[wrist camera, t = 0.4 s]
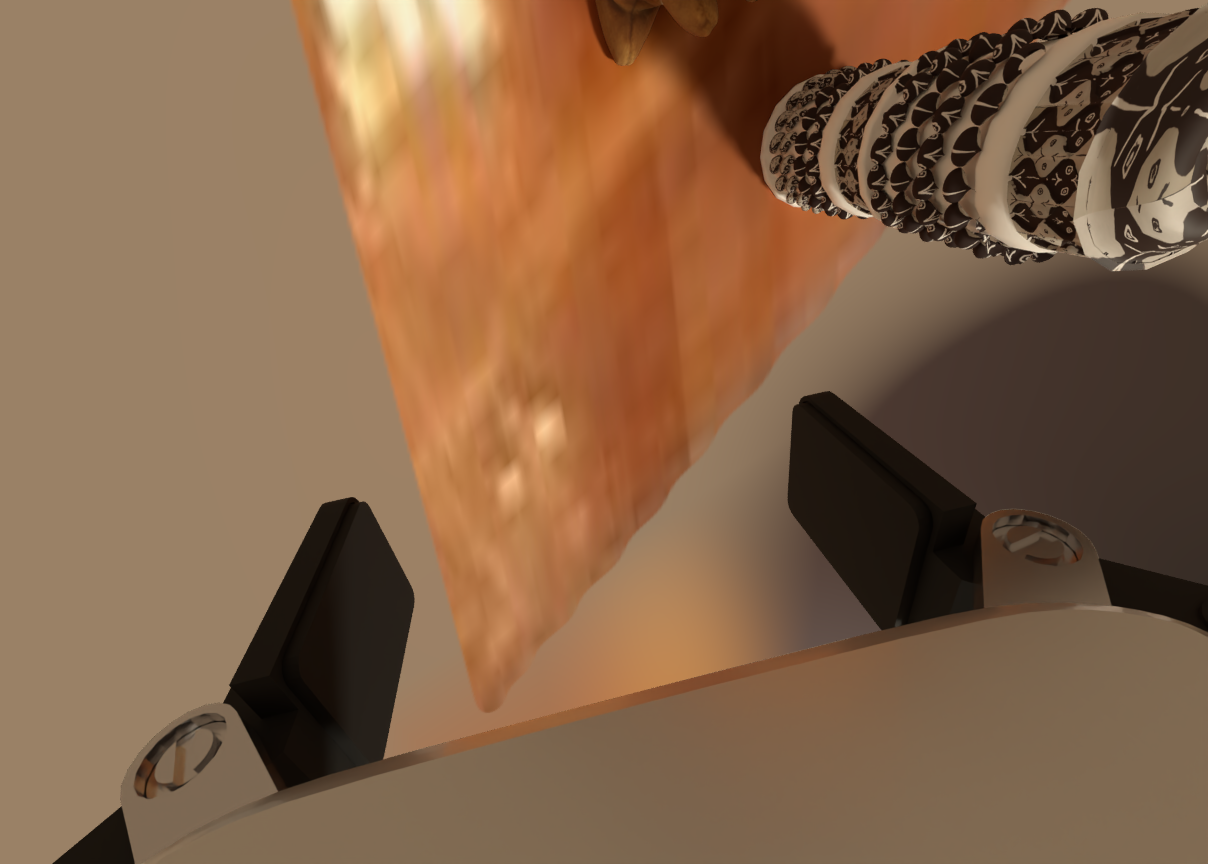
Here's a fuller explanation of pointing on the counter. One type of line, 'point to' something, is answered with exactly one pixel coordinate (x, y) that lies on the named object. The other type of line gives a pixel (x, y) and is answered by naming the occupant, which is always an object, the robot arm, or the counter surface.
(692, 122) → the counter surface
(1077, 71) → the decorative candle
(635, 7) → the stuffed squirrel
